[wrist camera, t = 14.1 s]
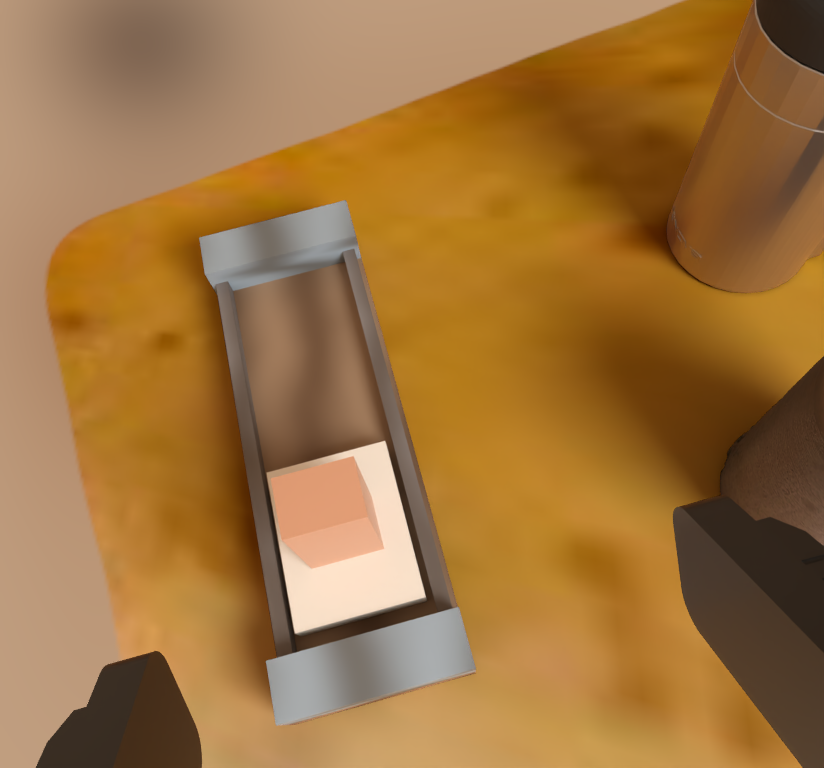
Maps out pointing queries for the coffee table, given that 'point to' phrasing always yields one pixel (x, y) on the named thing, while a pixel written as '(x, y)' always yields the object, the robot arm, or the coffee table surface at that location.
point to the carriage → (343, 539)
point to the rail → (326, 449)
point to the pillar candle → (783, 460)
